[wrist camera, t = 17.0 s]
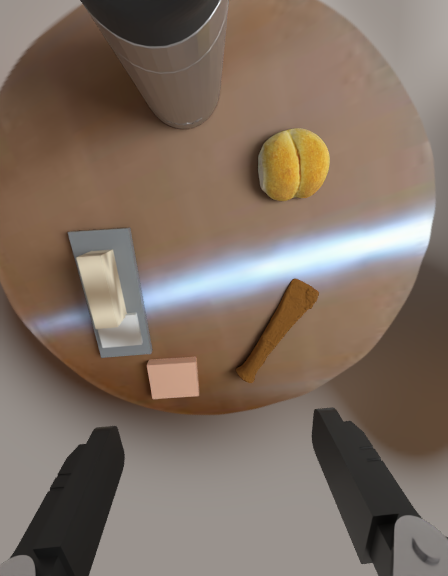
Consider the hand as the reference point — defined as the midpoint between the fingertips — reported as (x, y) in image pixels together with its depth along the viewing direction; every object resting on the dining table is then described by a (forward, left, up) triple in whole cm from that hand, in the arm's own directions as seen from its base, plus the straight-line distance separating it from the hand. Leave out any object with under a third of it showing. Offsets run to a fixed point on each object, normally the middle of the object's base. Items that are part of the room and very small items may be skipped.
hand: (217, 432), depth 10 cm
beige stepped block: (+4, -15, -27) cm, 31 cm away
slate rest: (+4, -15, -28) cm, 32 cm away
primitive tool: (+12, +9, -29) cm, 32 cm away
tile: (+16, -8, -28) cm, 33 cm away
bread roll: (-12, +11, -29) cm, 33 cm away
